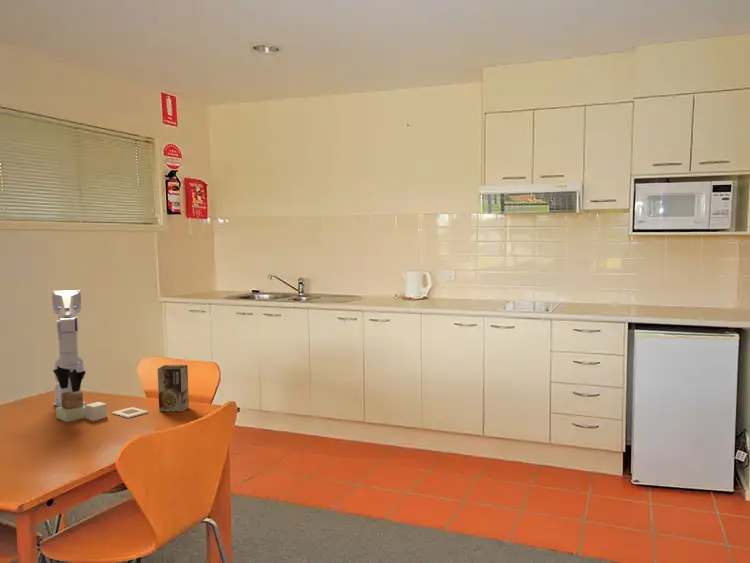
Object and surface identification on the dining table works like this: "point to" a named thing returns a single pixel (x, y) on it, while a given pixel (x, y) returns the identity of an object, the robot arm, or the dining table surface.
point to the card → (130, 412)
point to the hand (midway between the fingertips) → (70, 389)
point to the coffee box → (173, 388)
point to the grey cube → (96, 411)
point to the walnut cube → (72, 399)
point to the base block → (70, 413)
